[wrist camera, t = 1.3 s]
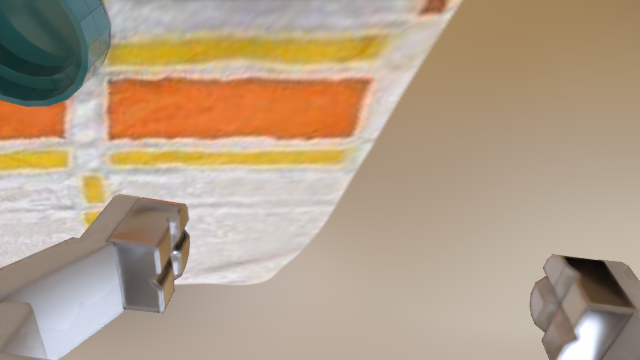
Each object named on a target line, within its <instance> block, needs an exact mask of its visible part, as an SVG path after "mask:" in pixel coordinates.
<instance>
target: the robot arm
mask: <svg viewBox="0 0 640 360" xmlns="http://www.w3.org/2000/svg"><path fill="white" fill-rule="evenodd" d="M188 220H189V216H188V207H187V206H186V204H182V203H175V202H169V201H163V200H156V199H150V198H144V197H142V198H140V197H136V196H129V195H122V194H119V195H116V196H114V197H113V198H112V200H111V201H110V202H109V203H108V204H107V206H106V207H105V208H104V209H103V210H102V212H101V213H100V214H99V215H98V216H97V218H96V219H95V220H94V221H93V222H92V224H91V225H90V226H89V227H88V229H87V230H86V231H85V232H84V233H83V235H82V236H81V237H80V238H75V237H72V238H70V239H67V240H65V241H63V242H60V243H58V244H56V245H53V246H51V247H49V248H46V249H44V250H42V251H39V252H37V253H35V254H33V255H30V256H28V257H26V258H23V259H21V260H19V261H16V262H14V263H12V264H9V265H7V266H5V267H2V268H0V360H59V359H60V358H61V357H63V356H64V355H66V354H67V353H68V352H69V351H71V350H72V349H74V348H75V347H76V346H78V345H79V344H80V343H82V342H83V341H84V340H86V339H87V338H88V337H90V336H91V335H92V334H94V333H95V332H96V331H98V330H99V329H100V328H102V327H103V326H105V325H106V324H107V323H109V322H110V321H111V320H112V319H114V318H115V317H117V316H118V315H119V314H121V313H122V312H123V311H124V310H123V309H127V310H137V311H146V312H154V313H164V311H165V309H166V307H167V305H168V303H169V301H170V299H171V297H172V295H173V293H174V290H175V289H174V280H176V279H177V278H179V277H181V276H182V274H183V271H184V269H185V267H186V263H187V259H188V256H189V247H190V235H189V234H188V233H187V232H186V230H185V229H184V228H185V226H186V224H187V222H188ZM543 269H544V271H545V274H546V276H545V277H544V278H542V279H540V280H539V281H537V282H536V283H535V285H534V287H533V290H532V292H531V297H530V311H531V316H532V318H533V321H534V324H535V325H536V326H538V327H539V328H540V329H541V330H542V331H543V332H545V334H544V336H543V338H542V343H543V345H544V348H545V350H546V353H547V355H548V357H549V360H640V281H639V280H638V278H637V277H636V276H635V274H634V273H633V271H632V270H631V269H630V267H629V266H628V265H626V264H624V263H623V262H616V261H608V260H592V259H584V258H577V257H569V256H562V255H554V254H552V255H551V256H550V257H549V258H548V259H547V261H546V263H545V265H544V267H543Z"/></svg>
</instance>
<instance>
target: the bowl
mask: <svg viewBox="0 0 640 360" xmlns="http://www.w3.org/2000/svg"><path fill="white" fill-rule="evenodd" d="M108 49H109V25H108V22H107V18H106V15H105V12H104V9H103V5H102V4H101V2H100V0H0V100H1V101H5V102H9V103H13V104H17V105H21V106H25V107H26V106H27V107H42V106H51V105H54V104H57V103H60V102H63V101H65V100H68V99H69V98H70V97H71V96H72V95H74V94H75V93H76V92H77V91H78V90H79V89H80V88H81V87H82V86H83V85H84V84H85V83H86V82H87V81H88V80H89V78H90V77H91V76H92V75H93V74H94V73H95V72H96V71H97V70H98V69H99V68H100V66H101V65H102V63H103V61H104V59H105V56H106V54H107V52H108Z"/></svg>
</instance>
